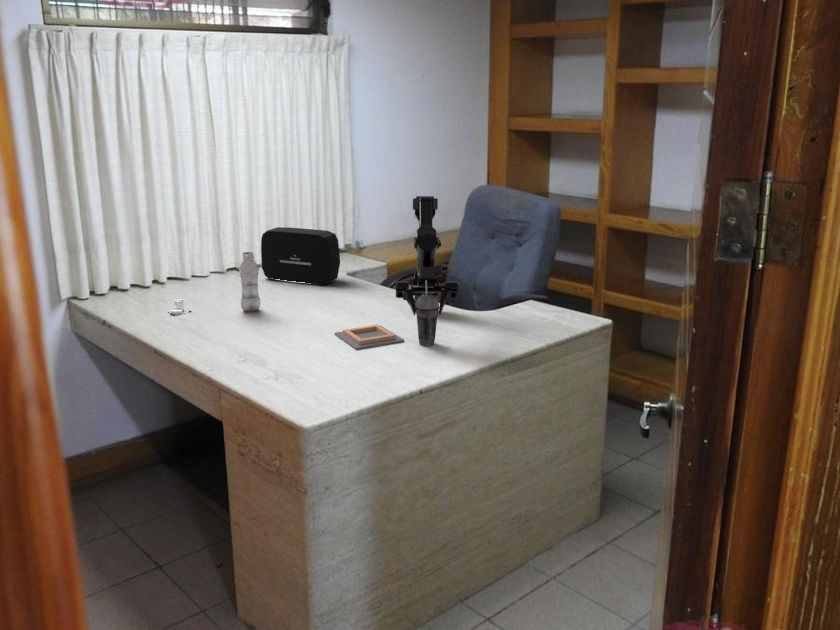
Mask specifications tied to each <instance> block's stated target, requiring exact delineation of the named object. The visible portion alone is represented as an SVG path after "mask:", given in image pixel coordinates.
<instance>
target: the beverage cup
mask: <svg viewBox="0 0 840 630" xmlns="http://www.w3.org/2000/svg"><path fill="white" fill-rule="evenodd" d="M425 286H426V293H425V294H422V295H421V296H419V298H418V299H417V301H416V305H415V310H416V312H415V315H416V322H417V323H416V324H417V335H418V338H417V339H418V343H419V346H422V347H433V346H434V345H435V342H436V341H435V340H436V334H437V333H436V332H437V331H436V330H437V325H438V324H437V322H438V315H439V307H440V302H439V300H438V298H437V297H436V296H434V295H432V294H429V293H427V280H425Z"/></svg>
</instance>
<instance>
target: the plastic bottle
mask: <svg viewBox="0 0 840 630" xmlns="http://www.w3.org/2000/svg"><path fill="white" fill-rule="evenodd" d="M241 255H242V261H241V263H240V265H239V268H238V271H239V278H240V283H241V298H240V307H241V309H242V310H243V311H244V312H256V311H258V310H260V308H261V299H260V294H259V287H258V286H259V285H258V283H259V281H258V280H259V269H260V268H259V265H258V264H257V262H256V261H255V260H254V259H255V255H254V252H252V251H246V252H242V254H241Z"/></svg>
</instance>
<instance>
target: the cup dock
mask: <svg viewBox="0 0 840 630" xmlns="http://www.w3.org/2000/svg"><path fill="white" fill-rule="evenodd" d="M334 335H335V336H336V337H337V338H339V339H340V340H342V341H343V342H344V343H345V344H347V345H349V346H350V348H353V349H354V350H356V351H357V350H364V349H369V348H375V347H382V346H387V345H392V344H394V345H395V344H399V343H404V342H405V339H404V338H402V337H401V336H399V335H397V334H395V333H394V332H392V331H391V330H389V329H387V328H385V326H382V325H379V324H374V325H367V326H359V327H353V328H352V327H351V328H347V329H343V330H342V331H336V332H334Z"/></svg>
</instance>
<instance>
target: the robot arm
mask: <svg viewBox="0 0 840 630" xmlns="http://www.w3.org/2000/svg"><path fill="white" fill-rule="evenodd" d="M438 205H439V199H438V198H435V196H433V195H428V196H427V195H416V196H415V198H413V197H412V211H414V217H415V218H416V221H417V222H418V228H417V229H416V234H415V235H416V236H413V239H414V240H413V246H414V247H413V249H415V250H416V252H417V258H416V259H417V260H416V261H417V264H416V265H417V266H416V270H415V271H414V277H412V282H411V283H412V284H410V281H409V280H407V281H402V280H400V281H399V280H397V282H395V298H397V299H402V300H403V301H406V302H407V304H408V306H409V307H410V309H411V311H412V313H413V316H416V310H415V305H416V301H417V299H418V298H419V296H421V295H422V294H425V293H426V286H425V280H427V293H429V294H432V295H434V296H435V297H436V296H438V295H439V294H440V301H439V311H438V315H439V316H441V315H442V312H443V309H444V307H445V305H446V303H447V301H451V300H452V299H457V298H458V297H459V282H457V281H444V285H440V281H439V280H438V277H439V278H440V277H442V276H443V265H442V264H441V265H439V264H437V251H438V250H439V249H440V248H441V247H442V241H441V239H440V237H439V236H437V230H436V229H435V228H434V227H433V220H434V218H435V217H436V211H438V210H439V208H438V207H439V206H438Z"/></svg>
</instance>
